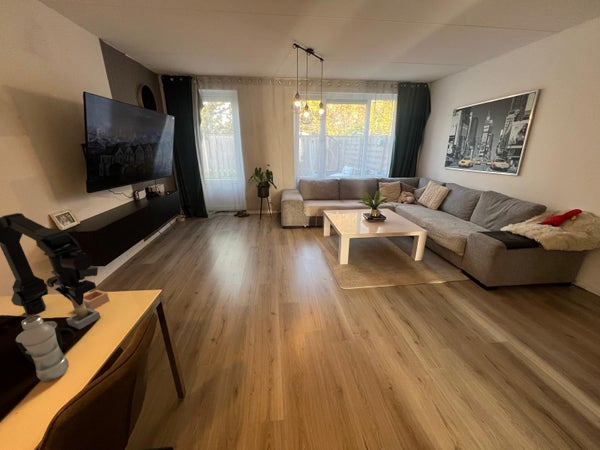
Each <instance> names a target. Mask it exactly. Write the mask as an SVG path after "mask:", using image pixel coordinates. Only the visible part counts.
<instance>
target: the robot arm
mask: <svg viewBox="0 0 600 450" xmlns="http://www.w3.org/2000/svg"><path fill="white" fill-rule="evenodd" d="M23 235H24V236H25V237H29V238H30V239H32V240H34V241H35V243H36V246H37V247H38V248H39V249H40V250H41V251H43V252H44V256H48V260H49V262H50V265H51V267H52V271H51V274H52V275H54V276H51V277H49V278H48V279H47V280H46V282H45V280H44V278H41V277H38V276H36V275H35V274H34V272H33V270H32V267H31V265H30V263H29V261H28V257H27V256H26V254H25V251H24V249H23V247H22V244H21V242H20V241H21V239H22V237H23ZM0 249H1V251H2V254H3V255H4V257H5V259H6V262H7V264H8V266H9V268H10V270H11V272H12V275H13V276H14V279H15V280H14V283H13V285H12V291H13V294H12V296H11V298H10V299H11V300H10V301H11V303H12V304H13V305H14V306H17V307H22V308H23V309H24V312H23V313H22V315H25V314H26V315H27V316H29V315H31V316H35V315H38V314H39V315H40V314H41V313H43V312H45V311H47V309H46V308H47V305H46V302H45V301H44V298H43V297H44V296H47V295H49V289H48V287H49V288H53V287H55V286H56V288H55V289H54V291H57V293H59V294H60V295H62V296H63V297H64V298H66V299H67V300H69V302H71V303H72V301H71V299H72V300H73V301H74V302H76V303H77V304H78V305H82V304H83V297H84V296H85V294H87V293H90V291H94V290H95V289H96V288H97V284H96V282H94V281H91V280H88V279H86V278H88V277H96V276H98V270H99V267H98V266H94V265H93V257H92V256H91V255H90V254H88V253H86V252H85V253H84V251H83V249H81V246H80V244H79V242H78V241H77V240H76V239H75V238H74V237H72V235H71V234H70V233H68V231H65V230H63V229H60V228H54V227H53V228H49V227H46V226H44V225H42V224H40V223H38V222H36V221H34V220H32V219H30V218H29V217H26V216H25V215H24V214H23V213H21V212H20V213H19V212H17V213H12V214H5V215H2V216H0ZM70 298H71V299H70Z"/></svg>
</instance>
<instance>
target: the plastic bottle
mask: <svg viewBox="0 0 600 450" xmlns="http://www.w3.org/2000/svg"><path fill="white" fill-rule="evenodd" d="M44 322H45V321H44V319H43V318H42V316H41V315H40V314H39V315H38V314H35V315H31V316H29V317H26V318H25V319H23V320H22V321H20V323H21V326H22V329H23V331H25V332H24V333H23V335H22V338H21V342H22V344H23V346H24V347H25V348H26V349H27V350H28V352H29V353H30V355H31V356H32V358H33V360H34V363H35V364H34V363H33V364H34V365H35V373H36V376H37V378H38V379H39V380H40V381H43V382H51V381H54V380H57V379H58V378H60V377H62V376H63V375H64V374H65V373H66V372H67V371H68V368H69V367H70V363H69V360H68V358H67V356H66V355H64V353H63V352H62V351H61V350H60V348H59V345H58V342H57V339H56V333H55V329H54V327H52V326H51V325H49V324H45V323H44Z"/></svg>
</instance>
